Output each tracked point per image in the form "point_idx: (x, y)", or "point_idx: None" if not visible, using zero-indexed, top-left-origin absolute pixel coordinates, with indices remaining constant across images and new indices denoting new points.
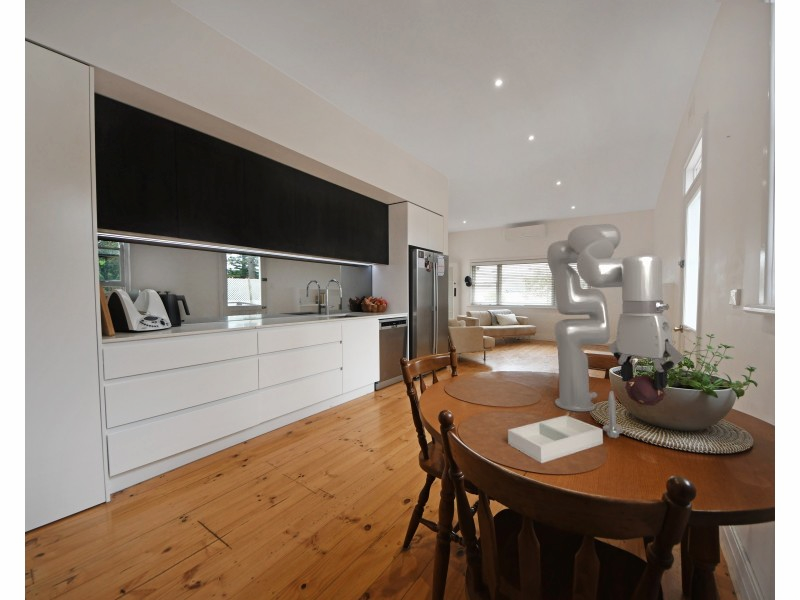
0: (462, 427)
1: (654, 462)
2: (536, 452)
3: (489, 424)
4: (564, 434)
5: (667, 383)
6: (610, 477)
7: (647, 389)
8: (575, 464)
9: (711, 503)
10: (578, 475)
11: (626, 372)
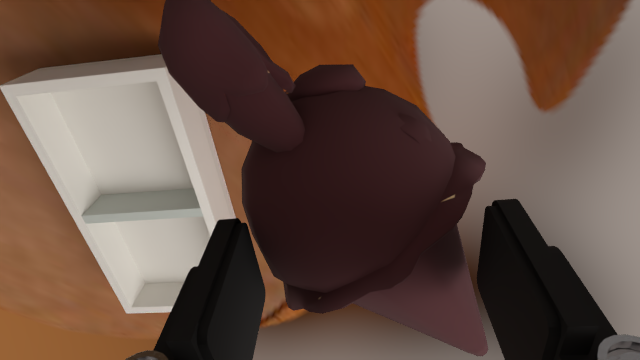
0: (33, 316)
1: (351, 8)
2: None
3: (9, 258)
4: (184, 216)
5: (559, 250)
6: None
7: (461, 326)
8: None
9: (552, 89)
10: None
11: (250, 345)
